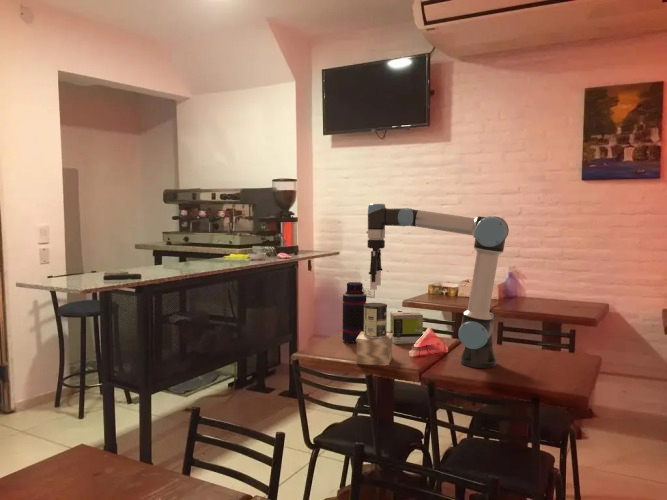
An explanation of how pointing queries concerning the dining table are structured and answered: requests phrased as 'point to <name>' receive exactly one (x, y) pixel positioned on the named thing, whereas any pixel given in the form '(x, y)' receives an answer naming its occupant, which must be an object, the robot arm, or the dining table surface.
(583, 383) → the dining table surface
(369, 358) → the birch box
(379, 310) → the coffee can
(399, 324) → the tea box
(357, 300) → the red-striped thermos flask
